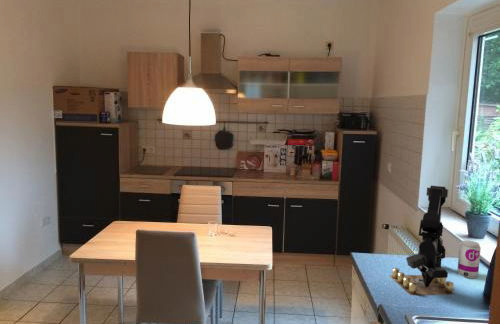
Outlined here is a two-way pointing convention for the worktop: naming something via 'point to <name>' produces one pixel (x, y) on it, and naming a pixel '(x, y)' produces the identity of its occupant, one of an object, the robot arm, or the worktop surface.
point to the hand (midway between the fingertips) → (426, 286)
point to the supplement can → (469, 259)
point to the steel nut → (419, 282)
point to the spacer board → (430, 290)
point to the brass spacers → (412, 285)
